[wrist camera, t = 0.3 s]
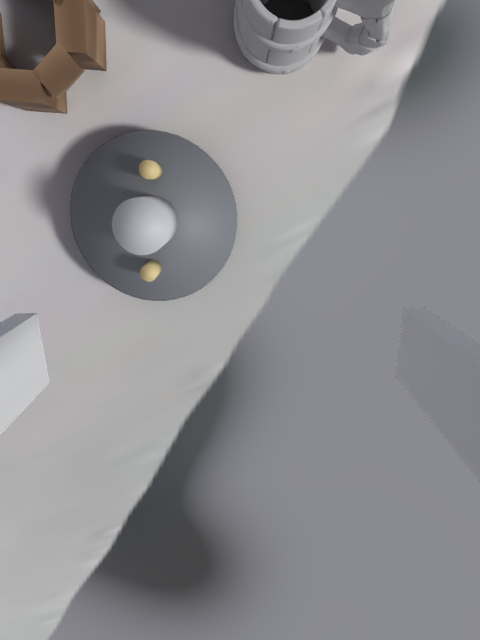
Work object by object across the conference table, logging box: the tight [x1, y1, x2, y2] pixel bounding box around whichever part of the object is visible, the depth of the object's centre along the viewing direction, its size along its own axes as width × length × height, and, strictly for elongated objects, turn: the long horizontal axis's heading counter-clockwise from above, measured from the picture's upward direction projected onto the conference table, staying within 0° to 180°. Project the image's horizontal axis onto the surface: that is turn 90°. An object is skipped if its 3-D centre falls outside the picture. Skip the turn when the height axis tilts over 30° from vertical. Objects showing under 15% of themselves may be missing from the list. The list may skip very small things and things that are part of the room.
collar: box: [0, 0, 106, 114], centre depth 32 cm, size 11×11×5 cm
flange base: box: [70, 130, 237, 301], centre depth 36 cm, size 15×15×8 cm
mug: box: [234, 0, 395, 74], centre depth 29 cm, size 8×12×12 cm, turn 74°
